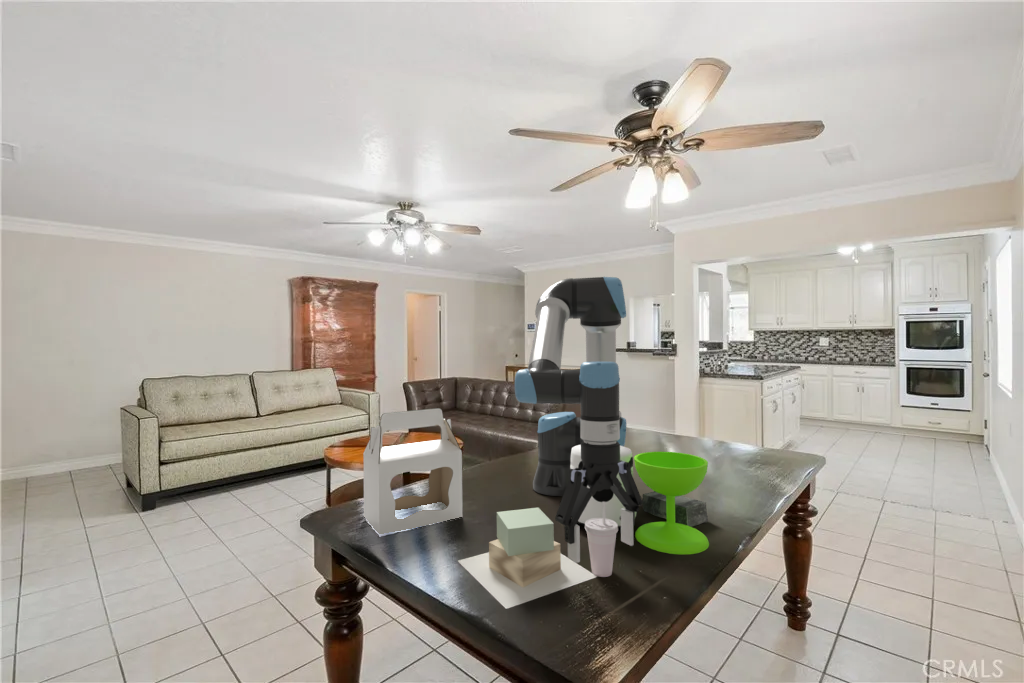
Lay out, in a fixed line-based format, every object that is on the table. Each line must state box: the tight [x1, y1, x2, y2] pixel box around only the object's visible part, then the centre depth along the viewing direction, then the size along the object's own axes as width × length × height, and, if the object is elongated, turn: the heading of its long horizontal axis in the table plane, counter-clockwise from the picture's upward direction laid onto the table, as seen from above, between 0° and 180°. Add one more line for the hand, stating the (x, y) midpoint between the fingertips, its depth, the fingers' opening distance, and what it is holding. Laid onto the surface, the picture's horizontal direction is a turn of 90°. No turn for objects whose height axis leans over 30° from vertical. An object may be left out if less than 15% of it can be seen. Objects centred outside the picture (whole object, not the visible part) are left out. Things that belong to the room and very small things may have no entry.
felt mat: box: [457, 551, 598, 610], centre depth 89 cm, size 20×20×1 cm
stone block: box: [642, 491, 709, 528], centre depth 117 cm, size 9×14×5 cm, turn 30°
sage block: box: [496, 507, 555, 556], centre depth 89 cm, size 9×9×5 cm
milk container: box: [570, 445, 638, 529], centre depth 114 cm, size 17×17×18 cm
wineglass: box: [633, 451, 710, 555], centre depth 104 cm, size 16×16×18 cm
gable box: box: [362, 407, 463, 534], centre depth 117 cm, size 22×13×28 cm, turn 123°
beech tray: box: [488, 538, 562, 587], centre depth 89 cm, size 10×10×5 cm
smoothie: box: [584, 501, 619, 578], centre depth 88 cm, size 6×6×14 cm
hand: (601, 551), depth 88 cm, fingers open, 13 cm apart
